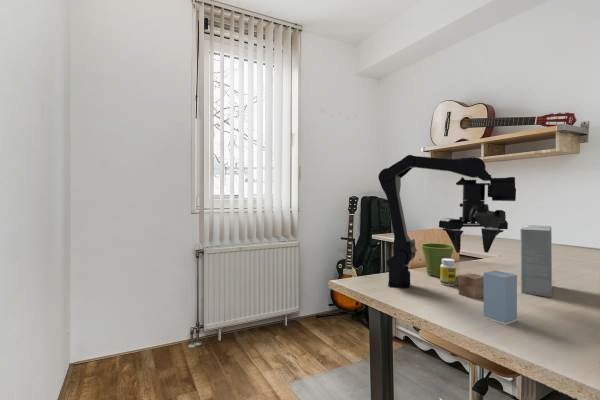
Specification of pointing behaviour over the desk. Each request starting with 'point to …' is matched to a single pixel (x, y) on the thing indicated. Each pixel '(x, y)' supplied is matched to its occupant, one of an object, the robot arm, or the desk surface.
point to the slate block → (500, 296)
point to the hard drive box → (536, 260)
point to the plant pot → (436, 256)
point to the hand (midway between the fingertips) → (472, 252)
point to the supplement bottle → (448, 272)
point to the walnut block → (471, 285)
